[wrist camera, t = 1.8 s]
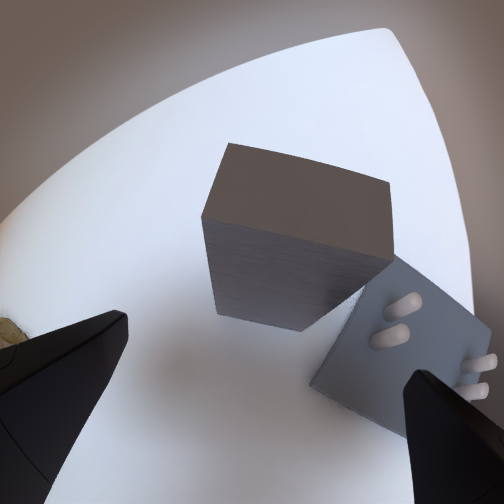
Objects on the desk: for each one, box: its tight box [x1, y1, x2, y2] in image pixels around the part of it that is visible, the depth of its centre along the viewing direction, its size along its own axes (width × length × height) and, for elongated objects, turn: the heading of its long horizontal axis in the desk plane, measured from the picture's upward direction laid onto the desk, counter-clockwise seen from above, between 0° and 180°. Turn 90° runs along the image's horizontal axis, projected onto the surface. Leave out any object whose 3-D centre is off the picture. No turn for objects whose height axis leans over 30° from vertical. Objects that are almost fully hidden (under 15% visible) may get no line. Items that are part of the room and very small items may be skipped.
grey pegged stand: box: [310, 254, 497, 439], centre depth 17 cm, size 12×14×5 cm
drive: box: [201, 143, 394, 332], centre depth 15 cm, size 3×6×12 cm, turn 78°
